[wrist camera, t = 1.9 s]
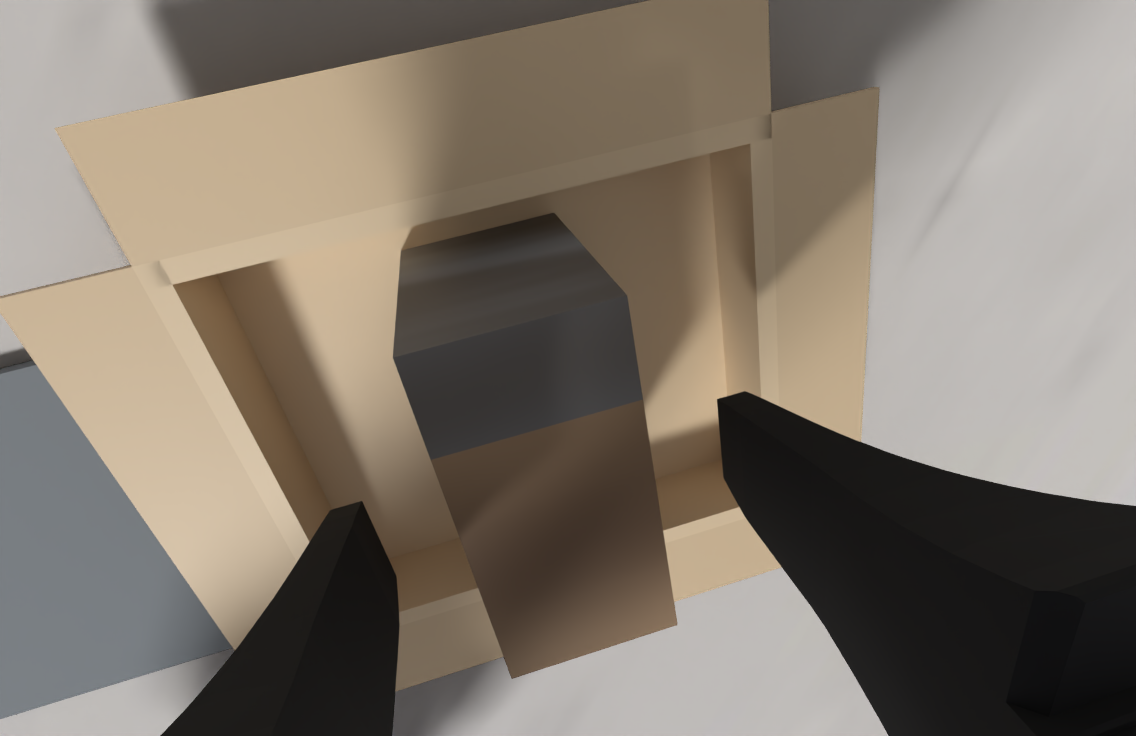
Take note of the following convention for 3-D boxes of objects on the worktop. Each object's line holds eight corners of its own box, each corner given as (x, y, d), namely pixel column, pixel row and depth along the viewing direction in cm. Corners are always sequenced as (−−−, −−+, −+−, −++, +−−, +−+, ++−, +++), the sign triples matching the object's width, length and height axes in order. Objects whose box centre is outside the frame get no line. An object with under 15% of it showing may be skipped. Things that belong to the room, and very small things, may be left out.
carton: (811, 494, 22) (855, 543, 20) (301, 653, 20) (287, 726, 18) (814, -35, 14) (886, -51, 12) (-13, 143, 12) (-104, 162, 10)
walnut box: (605, 467, 19) (677, 624, 14) (484, 503, 19) (511, 678, 13) (554, 212, 15) (627, 295, 10) (401, 250, 15) (393, 357, 10)
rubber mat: (250, 632, 19) (247, 643, 19) (-22, 715, 18) (-31, 728, 18) (64, 352, 14) (56, 360, 14) (-316, 447, 14) (-335, 458, 13)
